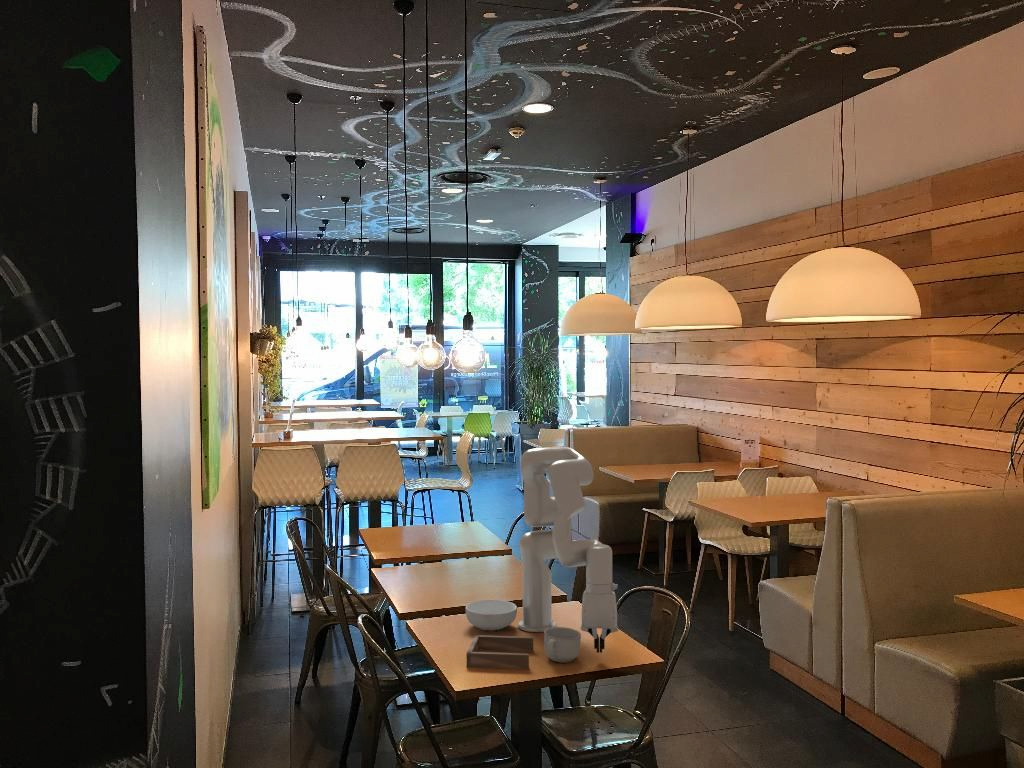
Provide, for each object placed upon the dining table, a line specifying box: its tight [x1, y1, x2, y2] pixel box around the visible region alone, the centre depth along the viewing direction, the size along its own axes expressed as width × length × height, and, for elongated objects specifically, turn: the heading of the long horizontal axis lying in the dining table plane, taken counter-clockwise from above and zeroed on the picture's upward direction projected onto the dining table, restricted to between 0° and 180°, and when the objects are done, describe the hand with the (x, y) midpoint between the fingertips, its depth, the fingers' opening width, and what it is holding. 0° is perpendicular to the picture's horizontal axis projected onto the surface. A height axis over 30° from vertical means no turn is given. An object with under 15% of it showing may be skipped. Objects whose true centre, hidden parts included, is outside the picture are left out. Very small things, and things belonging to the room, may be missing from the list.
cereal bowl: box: [465, 599, 518, 631], centre depth 271 cm, size 17×17×7 cm
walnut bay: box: [466, 634, 534, 670], centre depth 241 cm, size 16×18×4 cm
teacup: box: [543, 626, 582, 663], centre depth 239 cm, size 14×11×8 cm
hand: (599, 651), depth 237 cm, fingers closed
